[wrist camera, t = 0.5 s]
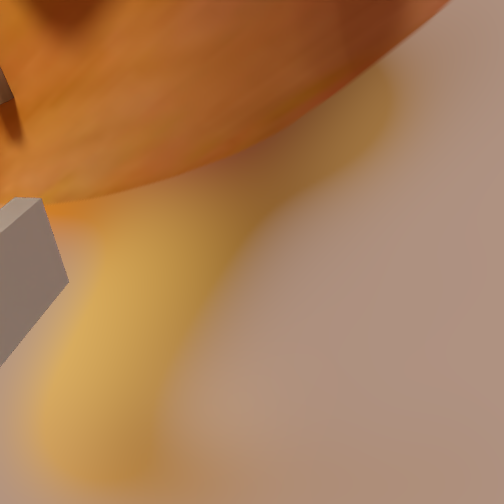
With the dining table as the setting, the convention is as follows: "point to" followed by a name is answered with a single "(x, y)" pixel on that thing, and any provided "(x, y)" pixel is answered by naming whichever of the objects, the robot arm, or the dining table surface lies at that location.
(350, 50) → the dining table surface
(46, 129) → the dining table surface
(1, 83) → the wooden blocks
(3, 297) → the robot arm
